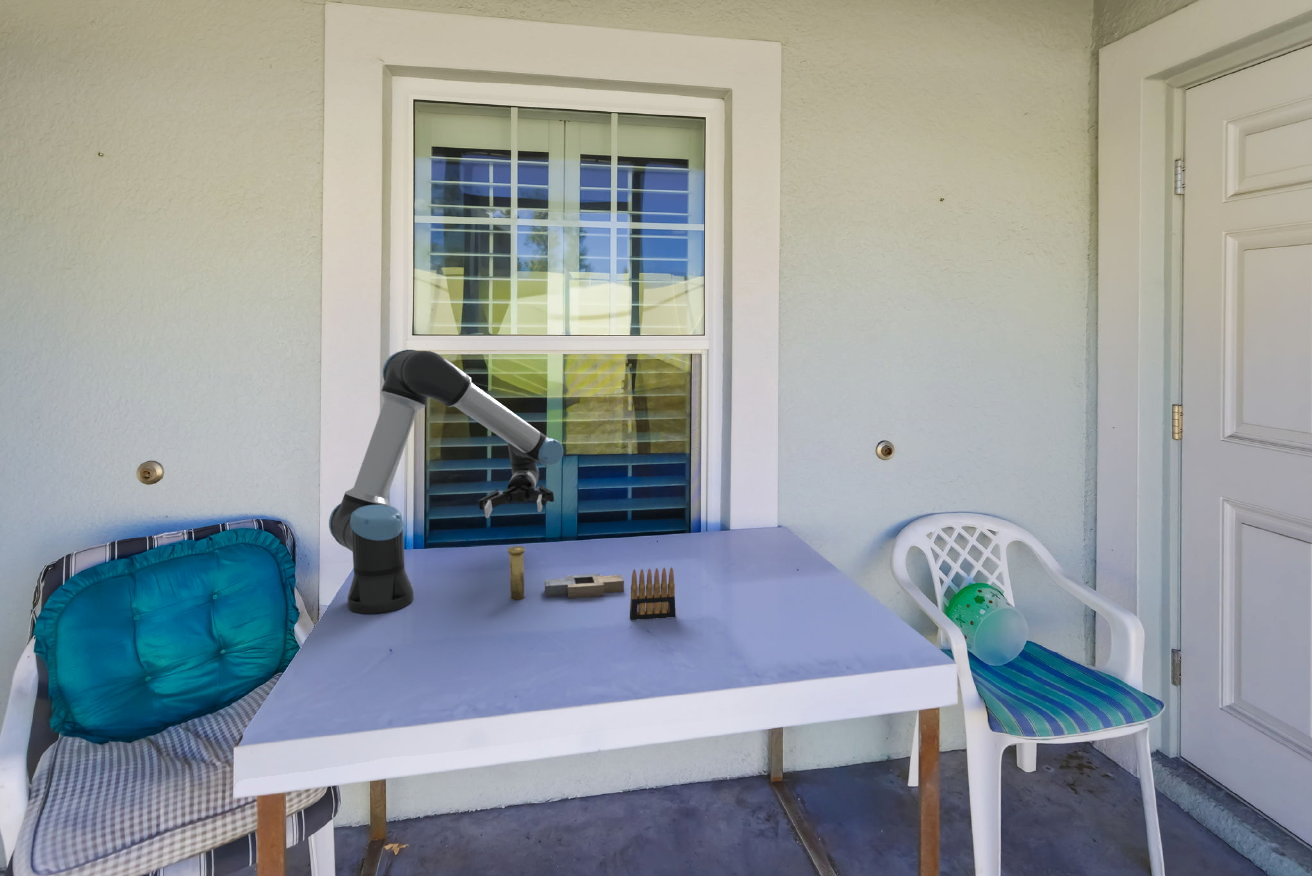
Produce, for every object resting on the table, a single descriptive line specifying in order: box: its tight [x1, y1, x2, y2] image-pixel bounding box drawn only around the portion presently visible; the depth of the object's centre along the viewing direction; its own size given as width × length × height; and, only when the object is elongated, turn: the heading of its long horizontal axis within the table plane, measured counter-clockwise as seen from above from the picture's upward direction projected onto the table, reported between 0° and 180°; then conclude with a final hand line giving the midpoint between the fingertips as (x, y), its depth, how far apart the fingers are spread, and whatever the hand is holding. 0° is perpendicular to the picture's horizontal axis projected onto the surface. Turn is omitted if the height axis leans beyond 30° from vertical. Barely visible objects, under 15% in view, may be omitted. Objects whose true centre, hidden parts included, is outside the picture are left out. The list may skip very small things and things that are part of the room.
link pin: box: [507, 545, 526, 601], centre depth 175 cm, size 4×4×13 cm
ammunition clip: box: [629, 566, 677, 621], centre depth 163 cm, size 11×2×12 cm, turn 100°
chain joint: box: [544, 573, 625, 600], centre depth 180 cm, size 20×9×3 cm, turn 102°
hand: (512, 510), depth 181 cm, fingers open, 13 cm apart
